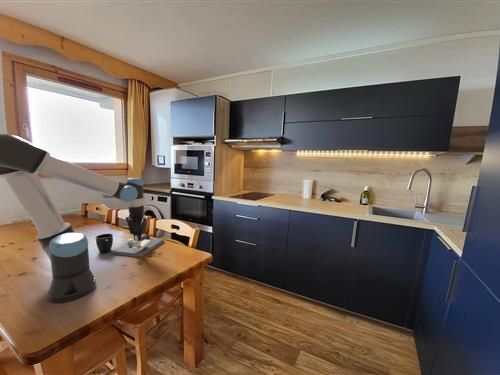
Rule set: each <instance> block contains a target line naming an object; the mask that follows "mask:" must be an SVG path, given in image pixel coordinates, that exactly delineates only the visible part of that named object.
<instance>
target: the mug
mask: <svg viewBox="0 0 500 375" xmlns="http://www.w3.org/2000/svg"><path fill="white" fill-rule="evenodd" d="M113 237H114V235H113V234H112V233H101V234H98V235H97V236H96V237H95V243H96V247H97V249H98V252H99V253H100V254H106V253H110V252H111V251H112V247H113V242H114V238H113Z"/></svg>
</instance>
